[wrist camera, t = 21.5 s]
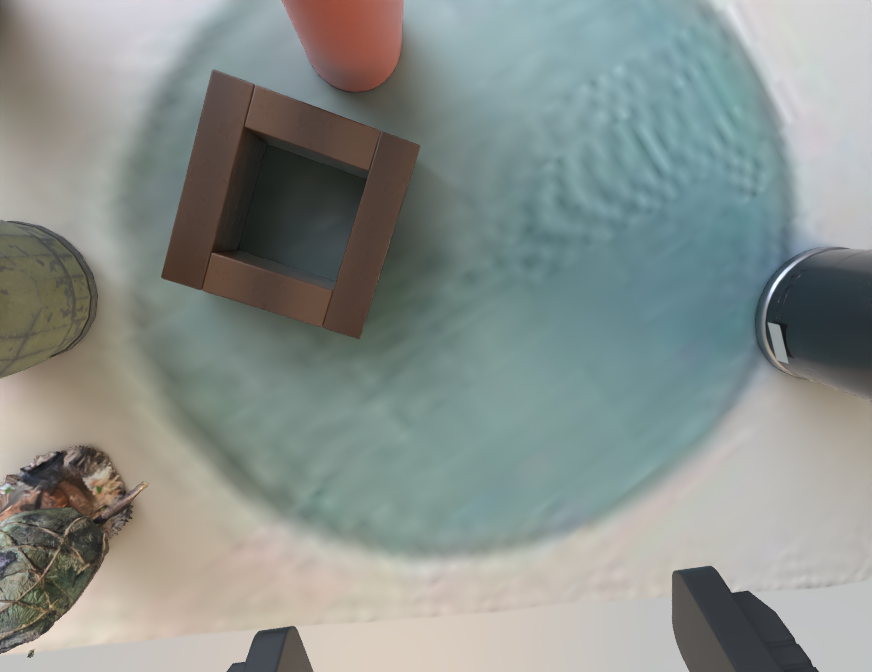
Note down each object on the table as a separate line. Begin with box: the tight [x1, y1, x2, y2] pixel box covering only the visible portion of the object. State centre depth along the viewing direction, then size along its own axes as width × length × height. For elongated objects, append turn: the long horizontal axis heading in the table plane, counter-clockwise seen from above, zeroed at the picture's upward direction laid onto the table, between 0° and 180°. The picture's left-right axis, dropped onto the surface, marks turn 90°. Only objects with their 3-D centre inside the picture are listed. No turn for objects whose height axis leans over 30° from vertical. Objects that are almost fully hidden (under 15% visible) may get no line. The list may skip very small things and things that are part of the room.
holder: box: [161, 70, 420, 339], centre depth 30 cm, size 11×11×5 cm
